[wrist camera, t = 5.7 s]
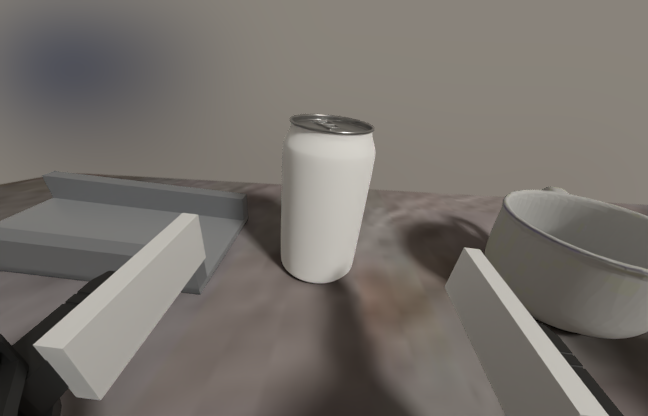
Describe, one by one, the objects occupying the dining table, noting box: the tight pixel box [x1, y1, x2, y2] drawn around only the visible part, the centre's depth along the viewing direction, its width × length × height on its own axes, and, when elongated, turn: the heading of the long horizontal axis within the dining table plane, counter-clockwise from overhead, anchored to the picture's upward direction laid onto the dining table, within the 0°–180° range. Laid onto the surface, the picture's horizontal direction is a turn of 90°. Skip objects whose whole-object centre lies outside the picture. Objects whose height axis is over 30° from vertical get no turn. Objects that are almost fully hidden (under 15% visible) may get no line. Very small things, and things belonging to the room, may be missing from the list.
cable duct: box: [0, 171, 248, 294], centre depth 21 cm, size 20×10×3 cm, turn 87°
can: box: [281, 114, 376, 284], centre depth 19 cm, size 6×6×12 cm
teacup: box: [485, 187, 648, 339], centre depth 20 cm, size 14×11×8 cm
